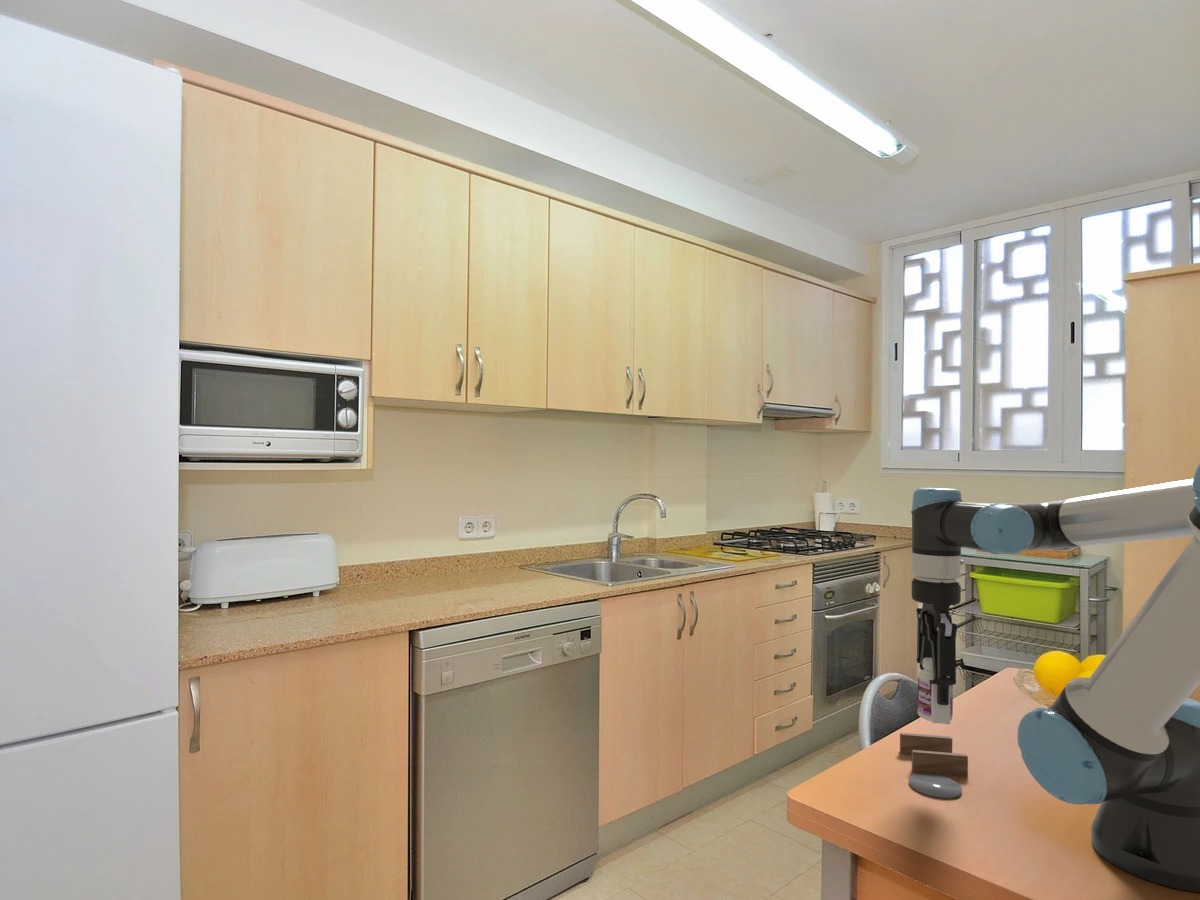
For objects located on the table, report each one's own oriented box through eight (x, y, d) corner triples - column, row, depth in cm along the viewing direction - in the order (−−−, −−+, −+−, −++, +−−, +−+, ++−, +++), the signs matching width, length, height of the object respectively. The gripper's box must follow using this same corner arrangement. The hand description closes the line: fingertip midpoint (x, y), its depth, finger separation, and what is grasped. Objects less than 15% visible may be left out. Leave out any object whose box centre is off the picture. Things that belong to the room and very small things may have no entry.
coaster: (969, 800, 111) (969, 797, 111) (916, 796, 113) (916, 792, 113) (952, 778, 119) (952, 775, 119) (903, 774, 120) (903, 771, 120)
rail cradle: (967, 776, 120) (967, 756, 120) (913, 771, 122) (913, 752, 122) (950, 755, 129) (950, 736, 129) (899, 751, 130) (899, 732, 131)
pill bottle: (914, 718, 116) (914, 661, 116) (921, 709, 120) (921, 654, 120) (949, 726, 112) (949, 667, 113) (955, 717, 117) (955, 660, 117)
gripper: (980, 589, 107) (979, 739, 107) (941, 571, 125) (941, 699, 125) (928, 587, 108) (927, 735, 108) (898, 569, 126) (897, 696, 126)
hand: (934, 715), depth 116 cm, fingers closed on pill bottle, 5 cm apart
